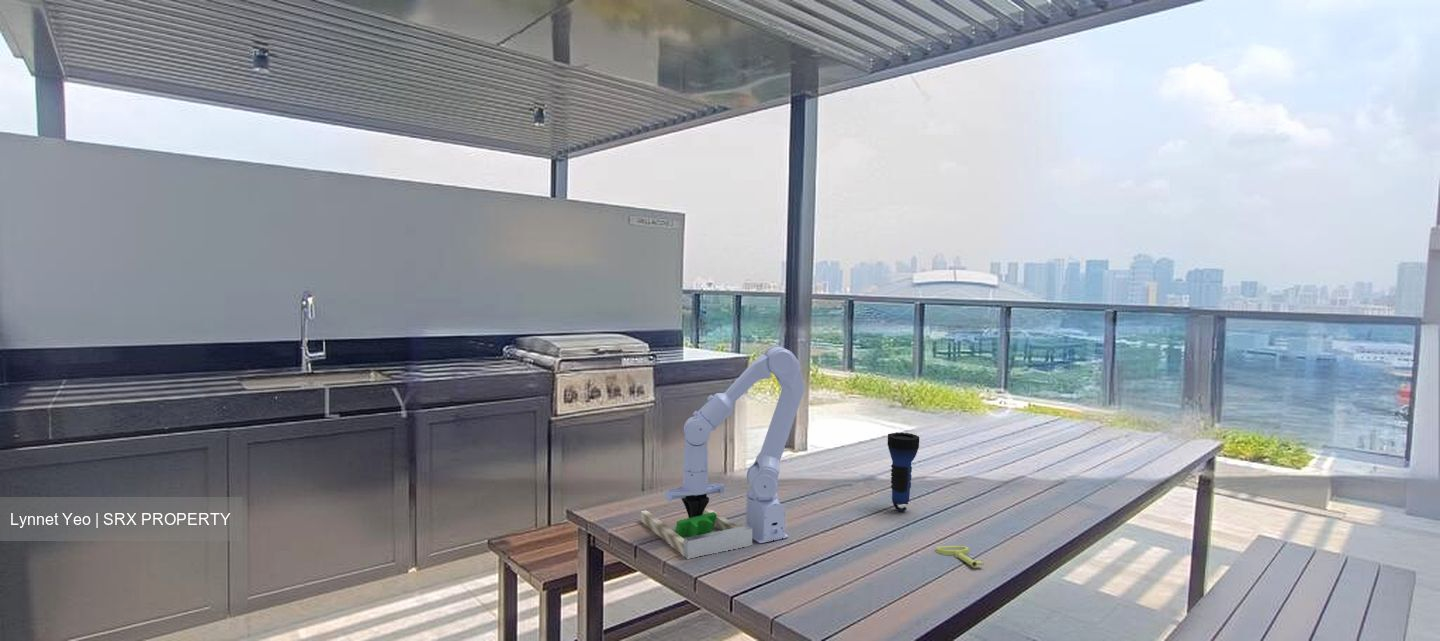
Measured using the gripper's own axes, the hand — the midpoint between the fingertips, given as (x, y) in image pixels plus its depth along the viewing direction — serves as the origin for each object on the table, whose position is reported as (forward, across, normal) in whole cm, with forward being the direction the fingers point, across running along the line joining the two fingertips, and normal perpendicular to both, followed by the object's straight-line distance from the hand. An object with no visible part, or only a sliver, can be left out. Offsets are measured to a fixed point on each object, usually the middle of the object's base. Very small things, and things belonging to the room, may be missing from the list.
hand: (694, 526), depth 150 cm
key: (+2, -45, +38) cm, 59 cm away
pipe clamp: (+1, +1, +2) cm, 3 cm away
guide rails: (+2, 0, -2) cm, 2 cm away
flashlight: (+1, -55, +10) cm, 56 cm away
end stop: (+2, 0, +11) cm, 11 cm away
